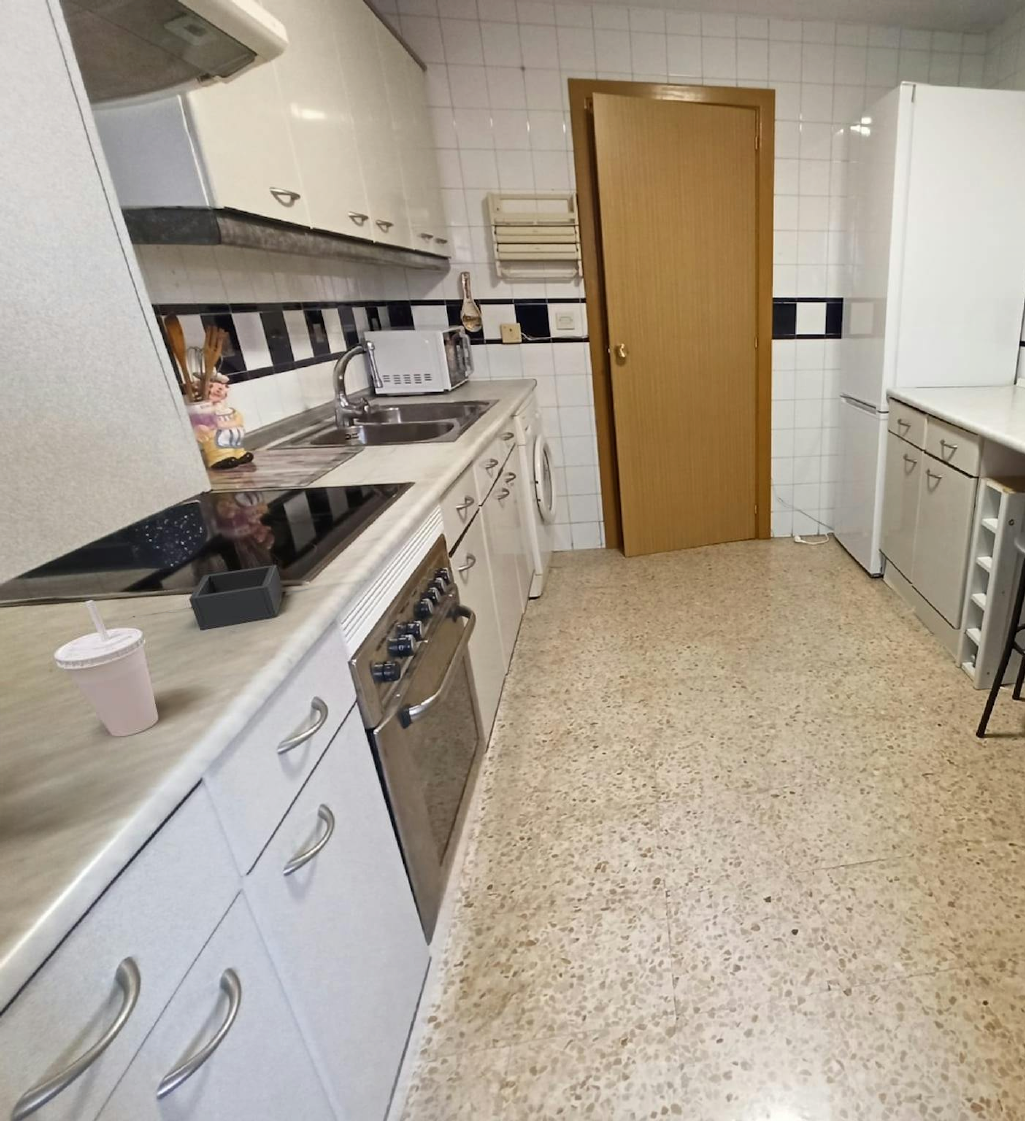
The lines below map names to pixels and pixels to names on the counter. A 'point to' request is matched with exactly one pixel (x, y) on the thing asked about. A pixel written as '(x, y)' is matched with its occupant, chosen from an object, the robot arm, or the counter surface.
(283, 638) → the counter surface
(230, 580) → the open box
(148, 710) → the smoothie
